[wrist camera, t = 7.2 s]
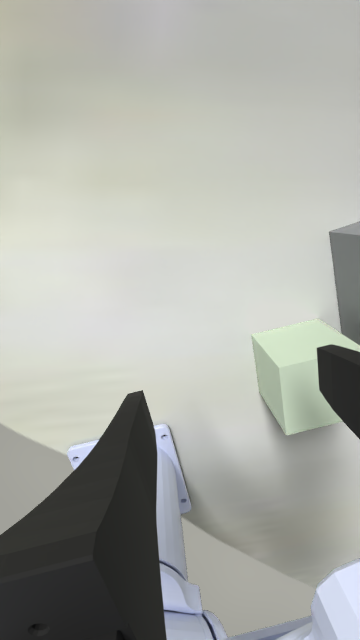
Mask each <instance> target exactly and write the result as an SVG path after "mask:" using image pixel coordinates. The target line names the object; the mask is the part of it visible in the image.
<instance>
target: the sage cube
mask: <svg viewBox="0 0 360 640" xmlns="http://www.w3.org/2000/svg"><path fill="white" fill-rule="evenodd" d="M251 336H252V343H253V350H254V358H255V365H256V372H257V379H258V386H259V392H260V394H261V395H262V397H263V399H264V400H265V402H266V404H267V405H268V407H269V408H270V410H271V412H272V413H273V415H274V417H275V418H276V420H277V421H278V423H279V425H280V426H281V428H282V430H283V431H284V433H285V434H286V436H287V435H291V434H295V433H299V432H303V431H307V430H311V429H315V428H319V427H323V426H327V425H331V424H335V423H339V422H343V421H342V419H341V418H340V417H339V416H338V415H337V414H336V413H335V412H334V411H333V409H332V408H331V406H330V405H329V404H328V402H327V401H326V399H325V398H324V396H323V395H322V393H321V392H320V390H319V378H318V362H317V348H318V347H322V346H326V345H330V344H333V345H337V346H341V347H345V348H348V349H352V350H355V351H358V352H360V345H358V344H357V343H355V342H354V341H352V340H350V339H349V338H347V337H346V336H344V335H343V334H341V333H340V332H338V331H336V330H335V329H333V328H332V327H330V326H329V325H327V324H326V323H324V322H322V321H321V320H319V319H314V320H310V321H306V322H302V323H297V324H293V325H289V326H285V327H281V328H276V329H272V330H268V331H264V332H260V333H255V334H251Z"/></svg>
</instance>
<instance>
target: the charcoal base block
mask: <svg viewBox="0 0 360 640" xmlns="http://www.w3.org/2000/svg"><path fill="white" fill-rule="evenodd" d="M329 235H330V243H331V251H332V259H333V267H334V275H335V283H336V291H337V299H338V307H339V315H340V323H341V331H342V334H343V335H344V336H346V337H347V338H349V339H350V340H352V341H354V342H355V343H357V344H358V345H360V222H357V223H354V224H351V225H348V226H345V227H342V228H339V229H336V230H333V231H330V232H329Z"/></svg>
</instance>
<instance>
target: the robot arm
mask: <svg viewBox="0 0 360 640" xmlns="http://www.w3.org/2000/svg"><path fill="white" fill-rule="evenodd" d="M317 362H318V378H319V390H320V392H321V393H322V395H323V396H324V398H325V399H326V401H327V402H328V404H329V405H330V406H331V408H332V409H333V411H334V412H335V413H336V414H337V415H338V416H339V417H340V418H341V419H342V421H343V422H344V423H345V424H346V425H347V426H348V427H349V428H350V429H351V430H352V431H353V432H354V434H355V435H356V436H357V437H358V438H359V439H360V352H358V351H355V350H352V349H348V348H345V347H341V346H337V345H333V344H330V345H326V346H322V347H318V348H317ZM162 435H167V436H164V437H163V436H162ZM67 455H68V458H69V460H70V462H71V464H72V466H73V469H74V471H73V472H72V473H71V474H70V476H68V477H67V478H66V479H65V480H64V482H62V484H61V485H60V486H59V487H58V488H57V489H56V490H55V491H53V492H52V493H51V494H50V495H49V496H48V497H47V498H46V499H45V500H44V501H43V502H41V503H40V504H39V505H38V506H37V507H35V508H34V509H33V510H32V511H31V512H30V513H28V514H27V515H26V516H25V517H24V518H22V519H21V520H20V521H18V522H17V523H16V524H14V525H13V526H12V527H10V528H9V529H8V530H6V531H5V532H4V533H3V534H1V535H0V640H360V558H359V559H356V560H353V561H351V562H349V563H347V564H344V565H342V566H340V567H337V568H335V569H333V570H332V571H331V572H330V573H329V574H328V575H327V576H326V577H325V578H324V579H323V580H322V581H321V582H319V583H318V585H317V588H316V592H315V595H314V598H313V601H312V605H311V613H312V616H308V617H305V618H301V619H297V620H293V621H289V622H285V623H282V624H278V625H274V626H270V627H266V628H262V629H259V630H255V631H251V632H247V633H243V634H240V635H236V636H232V637H227V634H226V632H225V630H224V627H223V625H222V624H221V622H220V620H219V619H218V617H217V616H216V615H215V614H214V613H212V612H210V611H208V610H202V604H201V596H200V589H199V586H198V585H195V584H191V583H188V576H187V568H186V558H185V550H184V540H183V532H182V522H181V514H183V513H187V512H189V511H190V510H191V502H190V499H189V495H188V492H187V488H186V485H185V481H184V478H183V474H182V471H181V467H180V464H179V460H178V457H177V453H176V450H175V446H174V443H173V439H172V436H171V432H170V429H169V427H168V425H166V424H160V425H156V426H154V425H153V422H152V419H151V416H150V412H149V409H148V406H147V403H146V399H145V396H144V393H143V390H142V391H138V392H134V393H130V394H128V395H127V396H126V398H125V399H124V401H123V403H122V404H121V406H120V408H119V410H118V411H117V413H116V415H115V416H114V418H113V420H112V421H111V423H110V424H109V426H108V428H107V429H106V431H105V432H104V434H103V435H102V437H101V438H100V439H99V440H95V441H91V442H87V443H83V444H79V445H75V446H72V447H70V448H69V449H68V453H67ZM75 457H79V458H75Z"/></svg>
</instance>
